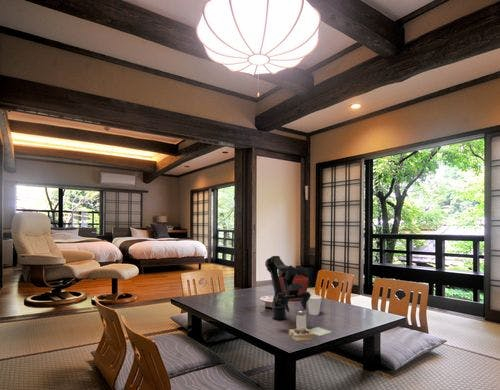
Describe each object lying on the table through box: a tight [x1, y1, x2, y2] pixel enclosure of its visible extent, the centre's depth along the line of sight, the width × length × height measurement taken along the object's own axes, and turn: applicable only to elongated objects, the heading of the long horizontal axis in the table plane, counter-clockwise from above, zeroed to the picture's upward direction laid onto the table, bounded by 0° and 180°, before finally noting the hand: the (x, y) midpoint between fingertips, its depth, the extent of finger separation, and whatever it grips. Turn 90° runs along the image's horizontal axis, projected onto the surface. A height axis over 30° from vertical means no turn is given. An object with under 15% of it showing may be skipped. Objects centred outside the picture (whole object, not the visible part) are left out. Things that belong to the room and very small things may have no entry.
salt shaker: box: [294, 308, 308, 334], centre depth 165 cm, size 6×6×13 cm
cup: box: [306, 294, 323, 316], centre depth 208 cm, size 10×10×11 cm
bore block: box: [288, 327, 316, 342], centre depth 164 cm, size 10×10×3 cm
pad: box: [308, 326, 332, 337], centre depth 173 cm, size 10×10×1 cm
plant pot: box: [278, 274, 310, 302], centre depth 250 cm, size 19×19×17 cm
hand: (297, 311), depth 170 cm, fingers open, 9 cm apart
